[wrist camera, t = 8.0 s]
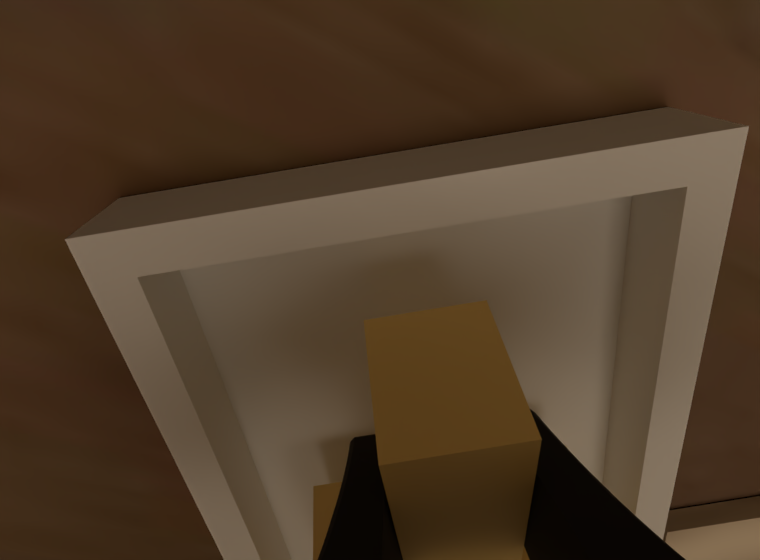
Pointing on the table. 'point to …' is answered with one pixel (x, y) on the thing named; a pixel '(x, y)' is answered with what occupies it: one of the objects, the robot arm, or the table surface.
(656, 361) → the tray
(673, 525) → the board
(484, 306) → the tabbed collar
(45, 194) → the table surface
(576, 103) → the table surface
